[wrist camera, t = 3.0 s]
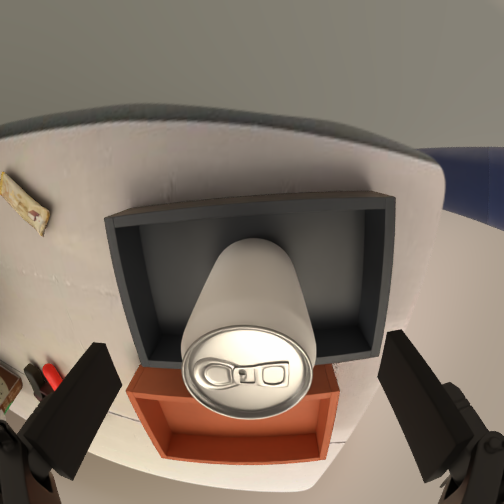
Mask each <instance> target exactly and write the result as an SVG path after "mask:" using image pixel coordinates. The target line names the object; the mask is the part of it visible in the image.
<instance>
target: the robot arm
mask: <svg viewBox="0 0 504 504" xmlns="http://www.w3.org/2000/svg"><path fill="white" fill-rule="evenodd" d="M377 377H378V379H379V381H380V383H381V385H382V387H383V389H384V391H385V393H386V395H387V398H388V400H389V402H390V404H391V406H392V408H393V410H394V413H395V415H396V417H397V419H398V421H399V424H400V426H401V428H402V430H403V433H404V435H405V437H406V440H407V442H408V444H409V446H410V449H411V451H412V453H413V456H414V458H415V461H416V463H417V465H418V468H419V471H420V473H421V476H422V478H423V481H424V483H427V482H430V481H432V480H434V479H437V478H439V477H441V476H442V475H443V474H444V473H445V472H446V471H447V470H448V469H449V471H450V475H449V477H447V478H446V480H445V481H444V482H443V483H442V484H441V486H440V487H441V488H442V487H443V486H444V485H445V484H446V485H445V488H444V490H443V493H442V495H441V498H440V500H439V502H438V504H504V436H503V435H502V434H501V433H499V432H496V431H490V432H489V430H488V429H487V428H486V427H485V425H484V423H483V422H482V420H481V419H480V417H479V416H478V414H477V413H476V411H475V410H474V409H473V407H472V406H470V403H469V401H468V400H467V399H465V396H464V394H463V393H462V391H461V390H460V389H459V388H458V387H457V386H455V385H454V384H452V383H451V382H448V383H445V384H441V383H440V381H439V380H438V378H437V377H436V375H435V374H434V373H433V372H432V370H431V368H430V367H429V366H428V364H427V363H426V361H425V360H424V359H423V357H422V356H421V355H420V353H419V352H418V351H417V349H416V348H415V347H414V345H413V344H412V343H411V341H410V340H409V339H408V337H407V336H406V335H405V333H404V332H403V331H402V329H401V330H395V331H390V332H387V335H386V340H385V345H384V350H383V355H382V359H381V364H380V368H379V372H378V376H377ZM121 387H122V383H121V381H120V378H119V376H118V374H117V371H116V369H115V367H114V364H113V362H112V359H111V357H110V354H109V352H108V349H107V347H106V344H105V343H95V342H93V343H92V345H91V346H90V347H89V348H88V349H87V351H86V352H85V353H84V354H83V356H82V357H81V358H80V359H79V360H78V362H77V363H76V364H75V365H74V367H73V368H72V369H71V371H70V372H69V373H68V374H67V376H66V377H65V378H64V380H63V381H62V382H61V383H60V385H59V386H58V387H57V389H56V390H55V391H54V393H52V392H51V393H50V394H48V395H47V396H46V397H44V398H43V399H42V400H41V402H40V403H39V404H38V407H36V409H35V410H34V411H33V413H32V414H31V415H30V417H29V418H28V419H27V421H26V422H25V424H24V425H23V427H22V428H21V429H20V431H19V432H18V433H17V435H16V433H15V432H14V431H13V430H12V428H11V427H10V426H9V425H8V423H7V422H6V421H4V420H0V504H61V501H60V497H59V494H58V491H57V487H56V484H55V480H54V477H53V474H52V473H51V472H50V471H51V469H52V468H53V469H54V470H55V471H56V472H57V473H58V474H59V475H61V476H63V477H65V478H68V479H70V480H72V481H73V480H74V477H75V475H76V473H77V471H78V469H79V467H80V465H81V463H82V461H83V459H84V457H85V455H86V453H87V451H88V449H89V447H90V445H91V443H92V441H93V439H94V437H95V435H96V433H97V431H98V429H99V427H100V425H101V424H102V422H103V420H104V418H105V416H106V414H107V412H108V410H109V408H110V407H111V405H112V403H113V401H114V399H115V397H116V396H117V394H118V392H119V390H120V388H121Z"/></svg>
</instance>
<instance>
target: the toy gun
mask: <svg viewBox="0 0 504 504" xmlns="http://www.w3.org/2000/svg"><path fill="white" fill-rule="evenodd" d="M42 371H43V374H44V376H45V377H46V379H47V380H48V382H49V383H47V382H45V380H44V378H43V376H42V374H41V372H40V370H39V369H38V368H37V367H36V366H34V365H32V364H28V365H27V366H26V367H25V368H24V373H25V374H26V376H27V378H28V380H29V382H30V384H31V386H32V388H33V391H34V396H35V397H36V398H37V399H38V400H39V401H40V402H41V400H42V399H43V398H44V397H46V396H47V395H48V394H50V393H51V392H52V393H54V391H55V390H56V389H57V387H58V386H59V385H60V383H61V382H62V381H63V380H62V378H61V377H60V375H59V373H58V372H57V370H56V368H55V367H54V366H53V365H52V364H49V363H48V364H45V365H44V366H43V368H42Z"/></svg>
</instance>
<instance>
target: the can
mask: <svg viewBox="0 0 504 504" xmlns="http://www.w3.org/2000/svg"><path fill="white" fill-rule="evenodd" d="M181 355H182V366H181V373H182V378H183V381H184V384H185V386H186V388H187V390H188V391H189V393H190V394H191V395H192V396H193V397H194V398H195V399H196V400H197V401H198V402H199V403H200V404H202V405H203V406H204V407H206V408H208V409H209V410H211V411H213V412H215V413H218V414H220V415H223V416H227V417H231V418H236V419H245V420H255V419H264V418H269V417H273V416H276V415H279V414H281V413H284V412H286V411H288V410H289V409H291V408H293V407H294V406H295V405H297V404H298V403H299V402H300V401H301V400H302V399H303V398H304V397H305V395H306V394H307V392H308V391H309V389H310V386H311V383H312V379H313V367H314V364H315V360H316V342H315V337H314V333H313V329H312V325H311V322H310V318H309V315H308V311H307V308H306V304H305V301H304V297H303V294H302V291H301V288H300V284H299V281H298V278H297V275H296V272H295V269H294V266H293V263H292V261H291V259H290V258H289V256H288V255H287V253H286V252H285V251H284V250H283V249H282V248H281V247H279V246H278V245H276V244H275V243H273V242H271V241H268V240H265V239H259V238H248V239H243V240H239V241H237V242H235V243H233V244H231V245H230V246H228V247H227V248H226V249H225V250H224V251H223V252H222V253H221V254H220V256H219V257H218V259H217V260H216V262H215V264H214V266H213V268H212V270H211V272H210V275H209V277H208V279H207V281H206V283H205V285H204V287H203V289H202V292H201V294H200V296H199V298H198V300H197V302H196V305H195V307H194V309H193V311H192V314H191V316H190V318H189V320H188V323H187V325H186V328H185V330H184V333H183V337H182V342H181Z"/></svg>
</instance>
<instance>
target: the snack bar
mask: <svg viewBox="0 0 504 504" xmlns="http://www.w3.org/2000/svg"><path fill="white" fill-rule="evenodd" d="M0 195H1V196H3V198H4V199H5V200H6V201H7V202H8V203H9V204H10V205H11V206H12V207H13V208H14V209H15V210H16V211H17V212H18V214H19V215H20V216H21V217H22V218H23V219H24V220H25V221H27V222H28V223H29V224H30V225H31V226H32V227H34V228H35V229H36V231H38V232H39V233H40V235H41V236H42V235H43V237H44V231H43V229H44V227H45V226H47V225H46V224H47V222H48V220H49V217H50V212H49V210H47V209H46V208H45V207H44V208H43V207H41V206H40V204H38V203H37V202H36V201H35V200H34V199H33V198H31V197H30V196H29V195H28V194H27V193H26V192H25V191H24V190H23V189H22V188H21V187H20V186H19V185H18V184H16V182H14V181H13V180H12V179H11V178H10V177H9V176H8V175H7V174H6V173H5V172H2V174H1V179H0ZM45 229H46V227H45ZM42 232H43V233H42Z"/></svg>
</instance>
